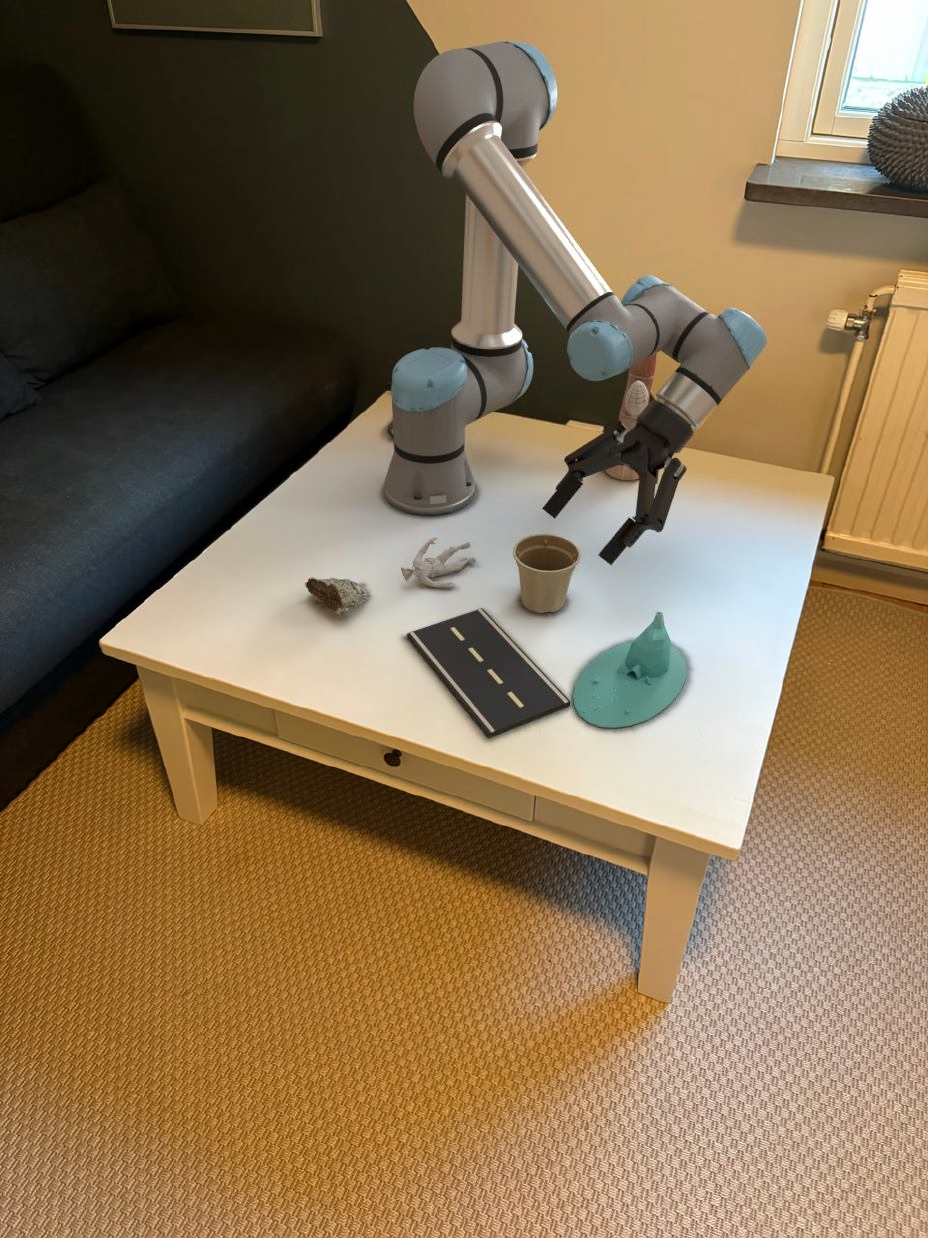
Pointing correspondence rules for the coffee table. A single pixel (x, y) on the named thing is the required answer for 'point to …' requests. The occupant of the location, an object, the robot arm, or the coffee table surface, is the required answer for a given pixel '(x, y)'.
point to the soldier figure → (435, 565)
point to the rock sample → (337, 593)
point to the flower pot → (545, 570)
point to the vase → (634, 405)
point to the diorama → (631, 680)
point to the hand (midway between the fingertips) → (575, 536)
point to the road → (487, 672)
